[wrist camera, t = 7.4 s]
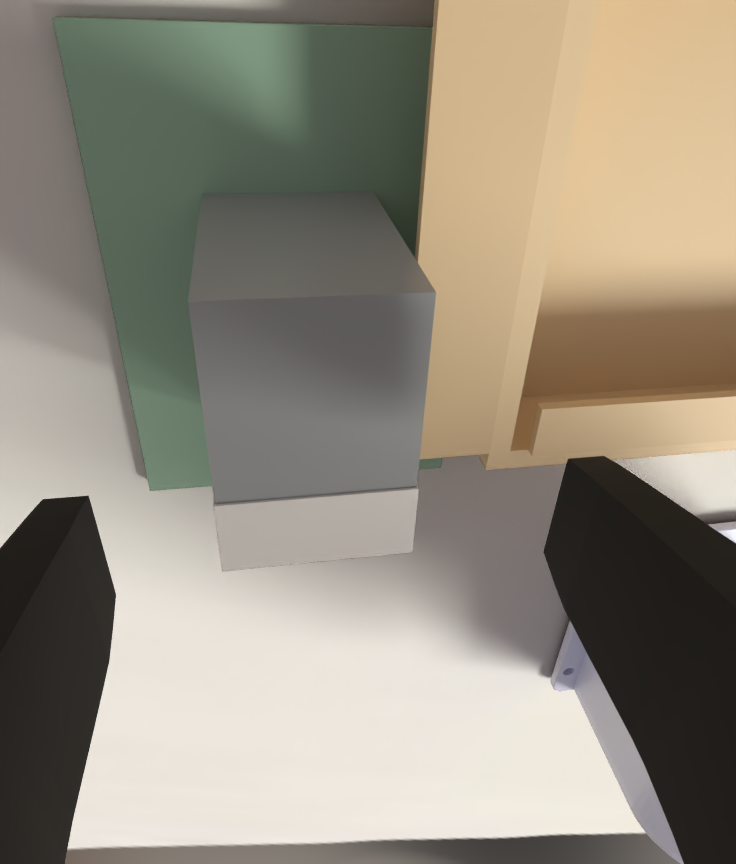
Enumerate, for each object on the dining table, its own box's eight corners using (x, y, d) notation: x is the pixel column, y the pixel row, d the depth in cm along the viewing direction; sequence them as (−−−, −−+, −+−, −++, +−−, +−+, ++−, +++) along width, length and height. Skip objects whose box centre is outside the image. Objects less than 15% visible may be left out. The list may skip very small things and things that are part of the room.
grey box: (366, 402, 19) (412, 552, 14) (224, 411, 18) (221, 571, 14) (374, 191, 16) (438, 293, 11) (200, 194, 15) (185, 303, 10)
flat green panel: (437, 459, 21) (440, 467, 21) (151, 482, 20) (150, 491, 20) (488, 29, 14) (494, 30, 14) (56, 16, 13) (52, 18, 13)
